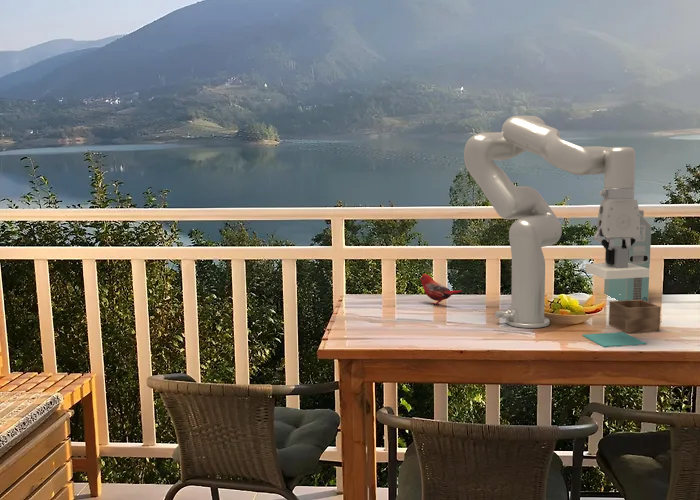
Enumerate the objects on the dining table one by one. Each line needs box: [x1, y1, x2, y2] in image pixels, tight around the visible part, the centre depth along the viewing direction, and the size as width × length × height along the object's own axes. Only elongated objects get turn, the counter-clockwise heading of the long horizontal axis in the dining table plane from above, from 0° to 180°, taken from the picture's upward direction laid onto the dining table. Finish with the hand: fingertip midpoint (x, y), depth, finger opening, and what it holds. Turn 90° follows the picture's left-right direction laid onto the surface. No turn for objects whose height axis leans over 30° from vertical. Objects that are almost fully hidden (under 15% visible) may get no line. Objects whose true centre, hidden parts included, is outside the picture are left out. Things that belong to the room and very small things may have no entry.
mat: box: [582, 331, 647, 348], centre depth 210 cm, size 12×12×1 cm
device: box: [603, 209, 652, 302], centre depth 260 cm, size 16×8×30 cm, turn 7°
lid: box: [584, 246, 650, 280], centre depth 207 cm, size 12×12×7 cm
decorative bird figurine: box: [419, 273, 463, 306], centre depth 255 cm, size 3×18×10 cm, turn 46°
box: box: [608, 300, 661, 334], centre depth 223 cm, size 10×10×7 cm
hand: (616, 263), depth 207 cm, fingers closed on lid, 3 cm apart
